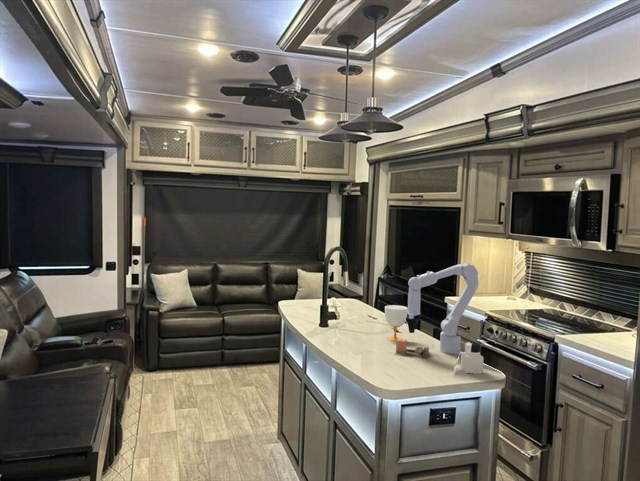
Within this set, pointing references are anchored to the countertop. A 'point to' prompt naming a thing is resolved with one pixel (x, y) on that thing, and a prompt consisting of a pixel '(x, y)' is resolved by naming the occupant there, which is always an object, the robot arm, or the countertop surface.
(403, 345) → the block
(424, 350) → the cracker bench
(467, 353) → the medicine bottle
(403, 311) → the cup
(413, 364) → the countertop surface
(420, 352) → the cylinder
